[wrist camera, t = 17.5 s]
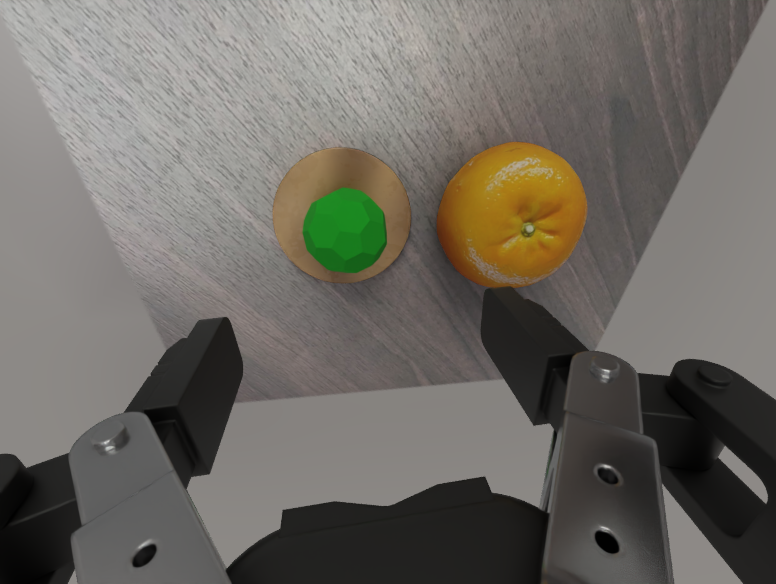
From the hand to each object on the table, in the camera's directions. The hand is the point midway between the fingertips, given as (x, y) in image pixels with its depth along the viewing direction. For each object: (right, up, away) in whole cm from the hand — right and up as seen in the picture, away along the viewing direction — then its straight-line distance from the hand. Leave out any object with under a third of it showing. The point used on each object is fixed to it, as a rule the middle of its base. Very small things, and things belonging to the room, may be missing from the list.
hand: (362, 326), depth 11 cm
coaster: (-2, +6, +12) cm, 14 cm away
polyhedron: (-2, +6, +12) cm, 13 cm away
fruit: (+8, +7, +14) cm, 17 cm away
